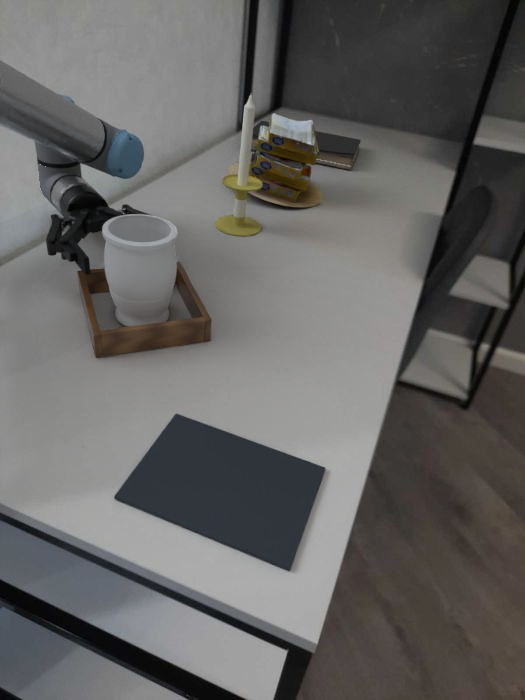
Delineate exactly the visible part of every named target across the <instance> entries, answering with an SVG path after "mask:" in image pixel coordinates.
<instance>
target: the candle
mask: <svg viewBox="0 0 525 700" xmlns="http://www.w3.org/2000/svg"><path fill="white" fill-rule="evenodd" d="M255 113H256V106H255V103H254V101H253V95H252V94H250V95H249V96H248V99H247V101H246V103H245V104H244V106H243V116H242V125H241V127H242V128H241V139H240V150H239V160H238V162H239V170H238V174H236V175H229V174H228V175H225V176H224V177H223V178H221V182H222V185H224V186H225V187H226V188H228V189H230V190H234V191H235V193H234V194H235V196H234V204H233V205H234V206H233V207H234V208H233V214H231V215H224V216H222V217H219V218H218V219H217V220H216V221H215V227H216V229H217V230H218V231H220V232H222V233H224V234H226V235H229V236H232V237H233V236H234V237H242V238H243V237H245V238H246V237H252V236H256V235H258V234H259V233H260V232H261V231H262V227H261V224H260V223H259V222H258V221H257V220H255V219H253V218H252V217H248V216H246V212H247V202H248V194H249V193H248V192H250V191H257V190H260V189H261V188H262V187H263V183H262V182H261V181H260V180H259V179H257V178H254V177H252V176H248V175H249V165H250V159H251V156H252V150H251V145H252V136H253V127H255V126H254V125H255Z"/></svg>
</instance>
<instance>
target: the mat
mask: <svg viewBox="0 0 525 700" xmlns="http://www.w3.org/2000/svg"><path fill="white" fill-rule="evenodd" d="M325 471H326V467H325V466H323V465H320V464H317V463H314V462H311V461H308V460H305V459H303V458H300V457H298V456H294V455H292V454H289V453H286V452H284V451H281V450H278V449H275V448H273V447H270V446H267V445H264V444H261V443H259V442H256V441H253V440H251V439H248V438H246V437H242V436H239V435H237V434H234V433H231V432H228V431H226V430H223V429H221V428H217V427H215V426H212V425H209V424H208V423H207V424H206V423H203V422H201V421H198V420H195V419H193V418H189V417H187V416H186V415H185V416H184V415H181V414H179V413H175V414H174V415H173V416H172V418H171V419H170V421H169V422H168V423H167V424H166V426H165V427H164V429H163V430H162V431H161V432H160V434H159V435H158V437H156V439H155V441H154V442H153V443H152V444H151V446H150V447H149V448H148V450H147V452H146V453H145V454H144V455H143V457H142V458H141V460H140V461H139V462H138V464H137V465H136V466H135V468H134V469H133V470H132V471H131V473H130V474H129V475H128V477H127V478H126V480H125V481H124V483H123V484H122V485H121V487H120V488H119V489H118V490H117V492H116V493H115V494H114V498H113V499H114V500H115V501H118V502H121V503H123V504H126V505H128V506H130V507H132V508H135V509H138V510H140V511H143V512H144V513H148V514H150V515H151V516H155V517H157V518H159V519H163V520H164V521H167V522H168V523H172V524H174V525H177V526H178V527H181V528H183V529H186V530H188V531H191V532H193V533H196V534H198V535H201V536H203V537H205V538H208V539H211V540H213V541H215V542H218V543H220V544H223V545H224V546H228V547H229V548H232V549H235V550H236V551H239V552H242V553H244V554H246V555H249V556H252V557H254V558H256V559H259V560H261V561H263V562H266V563H269V564H271V565H274V566H275V567H278V568H281V569H283V570H286V571H288V572H290V570H291V568H292V565H293V562H294V560H295V556H296V554H297V551H298V548H299V546H300V545H299V544H300V542H301V539H302V538H303V533H304V531H305V528H306V525H307V523H308V520H309V517H310V515H311V511H312V508H313V505H314V503H315V501H316V500H315V499H316V497H317V494H318V491H319V488H320V486H321V482H322V480H323V477H324V474H325Z"/></svg>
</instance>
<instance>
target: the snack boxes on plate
mask: <svg viewBox="0 0 525 700" xmlns="http://www.w3.org/2000/svg"><path fill="white" fill-rule="evenodd" d="M267 122H268V123H269V122H270V125H269V127H266V126H262V125H261V126H260V129H259V134H258V140H257V142H256V143H257V146H255V147H254V148H255V151H252V152H251V155H250V165H249V175H248V176H252V177H254V178H257V179H259V180H260V181H261V182H262V183H263V187H262V188H261V189H260V190H257V191H250V192H248V193H247V194H250V195H251V196H254V197H256V198H259V199H261V200H264V201H266V202H268V203H273V204H276V205H280V206H284V207H291V208H311V207H314V206H317V205H319V204H321V202H322V201H323V199H324V193H323V192H322V190H321V188H320V187H319V186H317V184H316V183H315V182H313V181H312V180H311V176H312V166H315V165H316V163H315V162H316V159H317V157H318V155H319V150H318V146H317V141H316V139H315V131H316V130H315V129H316V128H315V125H314V120H313V119H309V120H298V119H295V118H291V117H287V116H283V115H279V114H277V113H275V112H274V113H272V114H271V115H270V118H269V119H268V121H267ZM238 170H239V161H237V162H234V163H232V164H230V166H229V167H228V168H227V174H228V175H236V174H238Z"/></svg>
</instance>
